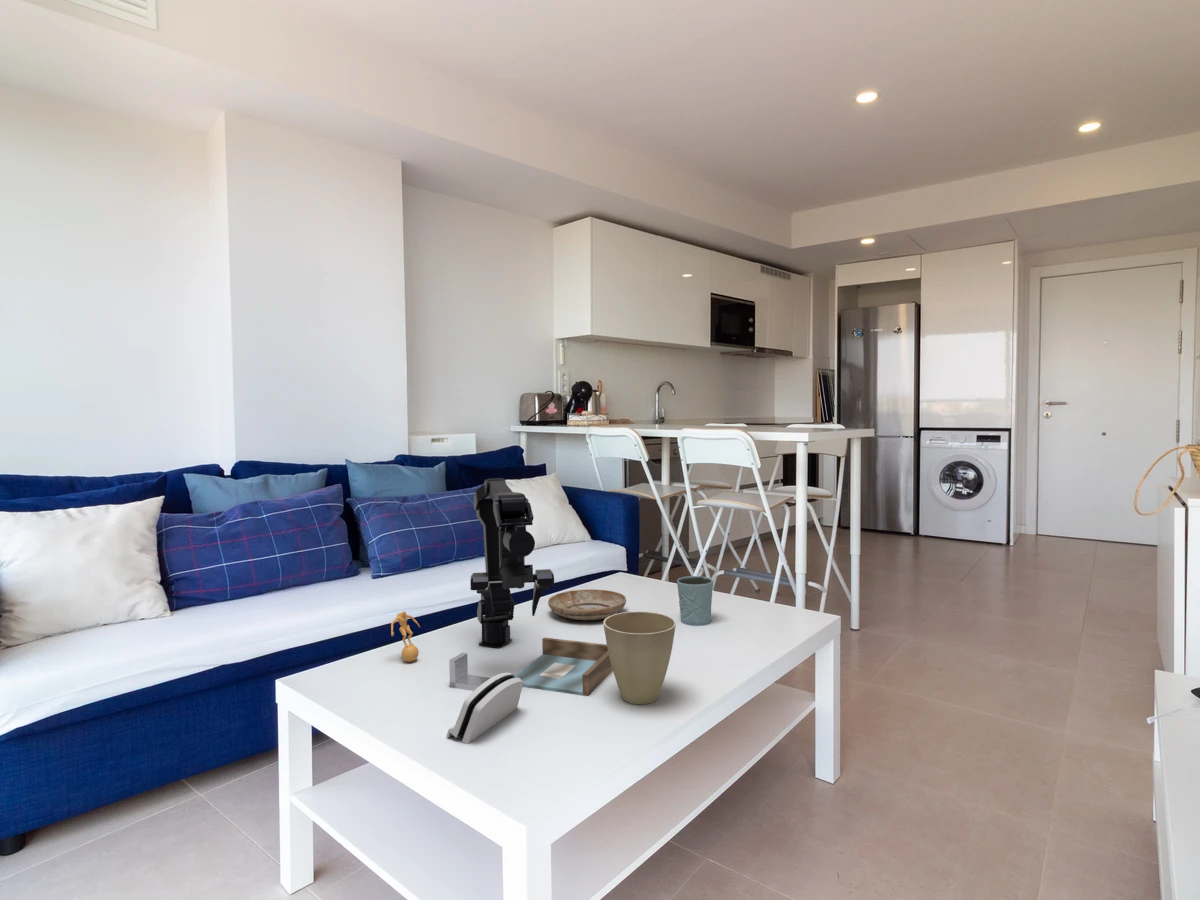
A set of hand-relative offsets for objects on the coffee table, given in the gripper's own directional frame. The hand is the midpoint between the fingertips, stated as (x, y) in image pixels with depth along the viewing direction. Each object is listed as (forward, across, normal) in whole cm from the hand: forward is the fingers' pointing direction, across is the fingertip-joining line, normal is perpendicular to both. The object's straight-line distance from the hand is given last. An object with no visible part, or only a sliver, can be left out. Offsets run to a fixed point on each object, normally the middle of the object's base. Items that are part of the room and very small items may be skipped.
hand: (513, 616), depth 151 cm
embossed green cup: (+13, +52, +29) cm, 61 cm away
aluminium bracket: (+13, -9, -6) cm, 17 cm away
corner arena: (+13, +10, -3) cm, 17 cm away
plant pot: (+13, +25, -19) cm, 34 cm away
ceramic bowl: (+13, +23, +42) cm, 50 cm away
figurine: (+13, -25, +13) cm, 31 cm away
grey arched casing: (+13, -6, -25) cm, 29 cm away
